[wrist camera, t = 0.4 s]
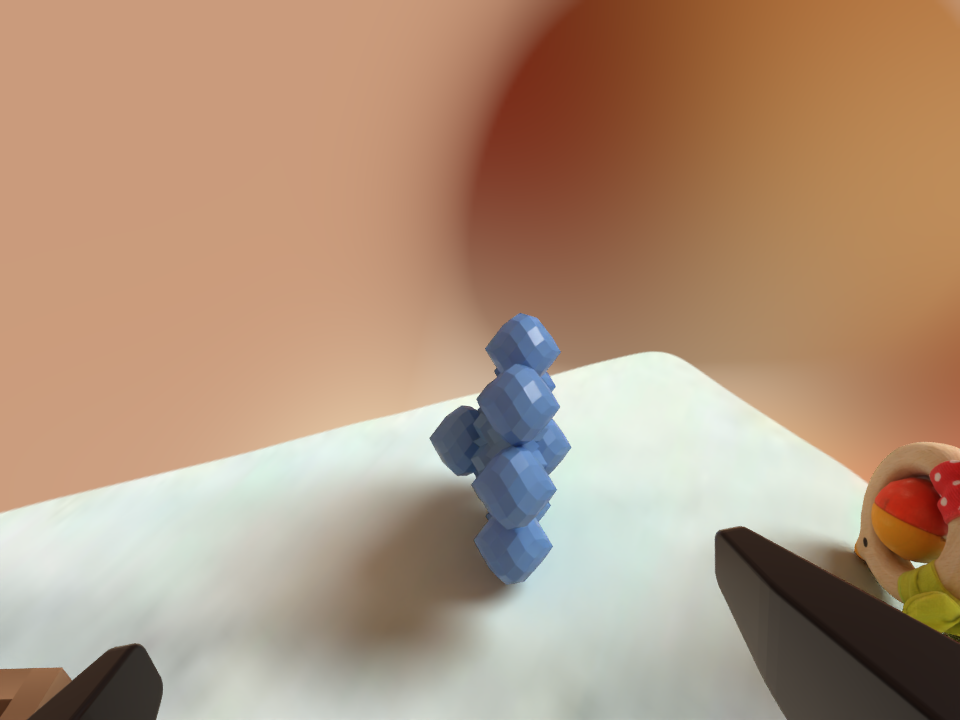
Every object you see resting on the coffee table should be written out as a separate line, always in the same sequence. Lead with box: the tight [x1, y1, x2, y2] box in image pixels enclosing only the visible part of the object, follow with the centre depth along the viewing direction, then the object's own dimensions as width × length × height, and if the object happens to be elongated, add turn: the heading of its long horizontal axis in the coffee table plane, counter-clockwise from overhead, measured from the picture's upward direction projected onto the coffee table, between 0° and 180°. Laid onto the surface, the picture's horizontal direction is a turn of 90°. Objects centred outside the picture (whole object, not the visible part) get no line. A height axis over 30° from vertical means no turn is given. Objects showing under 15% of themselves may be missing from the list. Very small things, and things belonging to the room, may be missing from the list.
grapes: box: [430, 313, 571, 585], centre depth 26 cm, size 12×7×12 cm, turn 173°
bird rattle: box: [854, 442, 960, 636], centre depth 23 cm, size 6×11×9 cm
